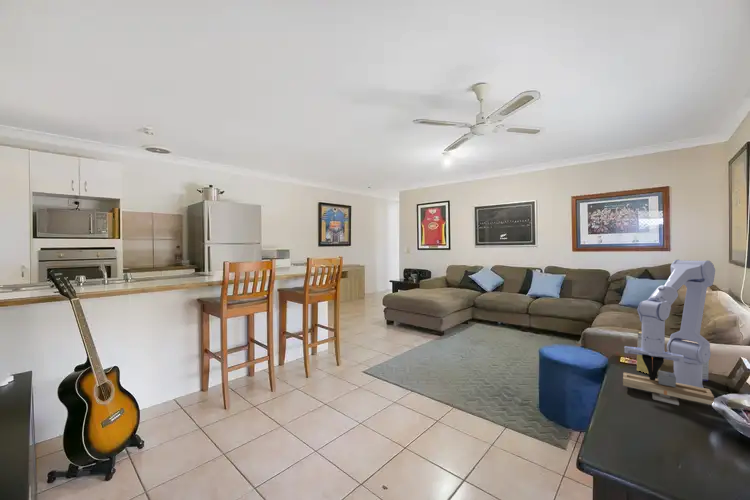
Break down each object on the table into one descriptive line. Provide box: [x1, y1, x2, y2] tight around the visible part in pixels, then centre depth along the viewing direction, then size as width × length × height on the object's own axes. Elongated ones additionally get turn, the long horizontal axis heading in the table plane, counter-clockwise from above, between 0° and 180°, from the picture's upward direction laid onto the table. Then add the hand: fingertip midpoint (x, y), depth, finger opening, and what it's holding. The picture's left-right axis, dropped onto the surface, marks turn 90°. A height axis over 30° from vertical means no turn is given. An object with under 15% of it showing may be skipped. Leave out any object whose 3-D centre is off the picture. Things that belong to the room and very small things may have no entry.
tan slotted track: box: [622, 371, 715, 406], centre depth 102 cm, size 9×21×4 cm, turn 51°
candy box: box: [636, 331, 661, 375], centre depth 125 cm, size 9×4×15 cm, turn 116°
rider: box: [656, 369, 676, 387], centre depth 102 cm, size 5×4×4 cm
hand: (652, 379), depth 104 cm, fingers closed
